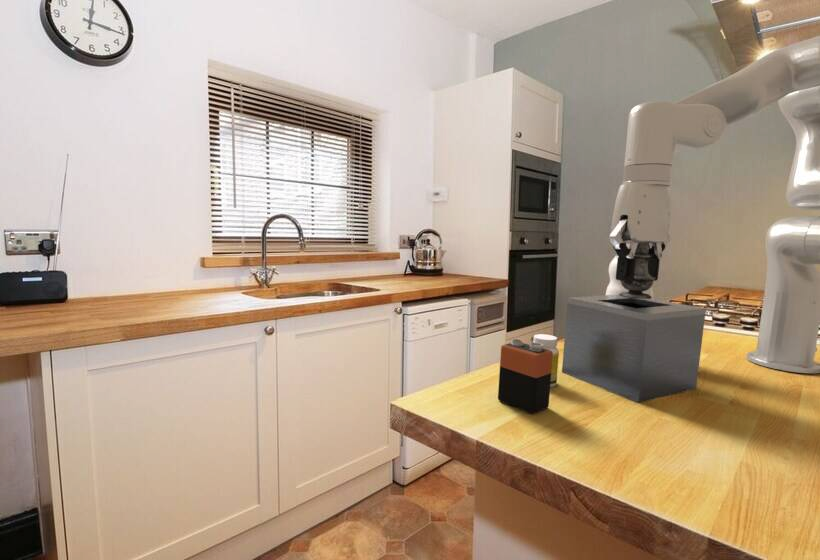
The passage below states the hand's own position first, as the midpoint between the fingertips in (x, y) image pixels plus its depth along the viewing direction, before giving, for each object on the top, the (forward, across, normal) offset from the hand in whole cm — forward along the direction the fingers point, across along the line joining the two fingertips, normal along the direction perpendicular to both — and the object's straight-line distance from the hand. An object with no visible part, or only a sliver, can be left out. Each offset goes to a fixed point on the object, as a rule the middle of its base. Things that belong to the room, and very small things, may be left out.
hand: (636, 279), depth 79 cm
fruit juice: (+19, -14, -11) cm, 26 cm away
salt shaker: (+3, 0, 0) cm, 3 cm away
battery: (+19, +26, +1) cm, 32 cm away
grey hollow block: (+19, 0, 0) cm, 19 cm away
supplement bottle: (+19, +16, -5) cm, 25 cm away
